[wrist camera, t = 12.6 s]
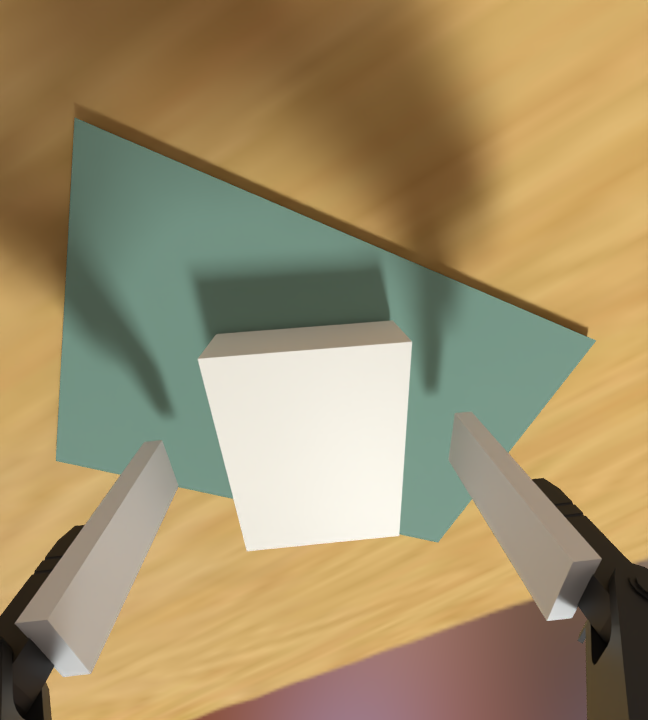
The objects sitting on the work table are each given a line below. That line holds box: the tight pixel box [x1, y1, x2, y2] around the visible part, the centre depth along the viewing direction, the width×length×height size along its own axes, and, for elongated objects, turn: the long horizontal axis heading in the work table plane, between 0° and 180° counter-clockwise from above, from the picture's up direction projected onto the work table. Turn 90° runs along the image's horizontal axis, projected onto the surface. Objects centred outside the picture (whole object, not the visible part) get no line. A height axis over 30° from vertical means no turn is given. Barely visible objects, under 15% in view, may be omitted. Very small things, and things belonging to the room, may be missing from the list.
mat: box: [56, 118, 596, 542], centre depth 16 cm, size 24×16×1 cm, turn 69°
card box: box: [198, 320, 412, 551], centre depth 15 cm, size 8×3×11 cm
